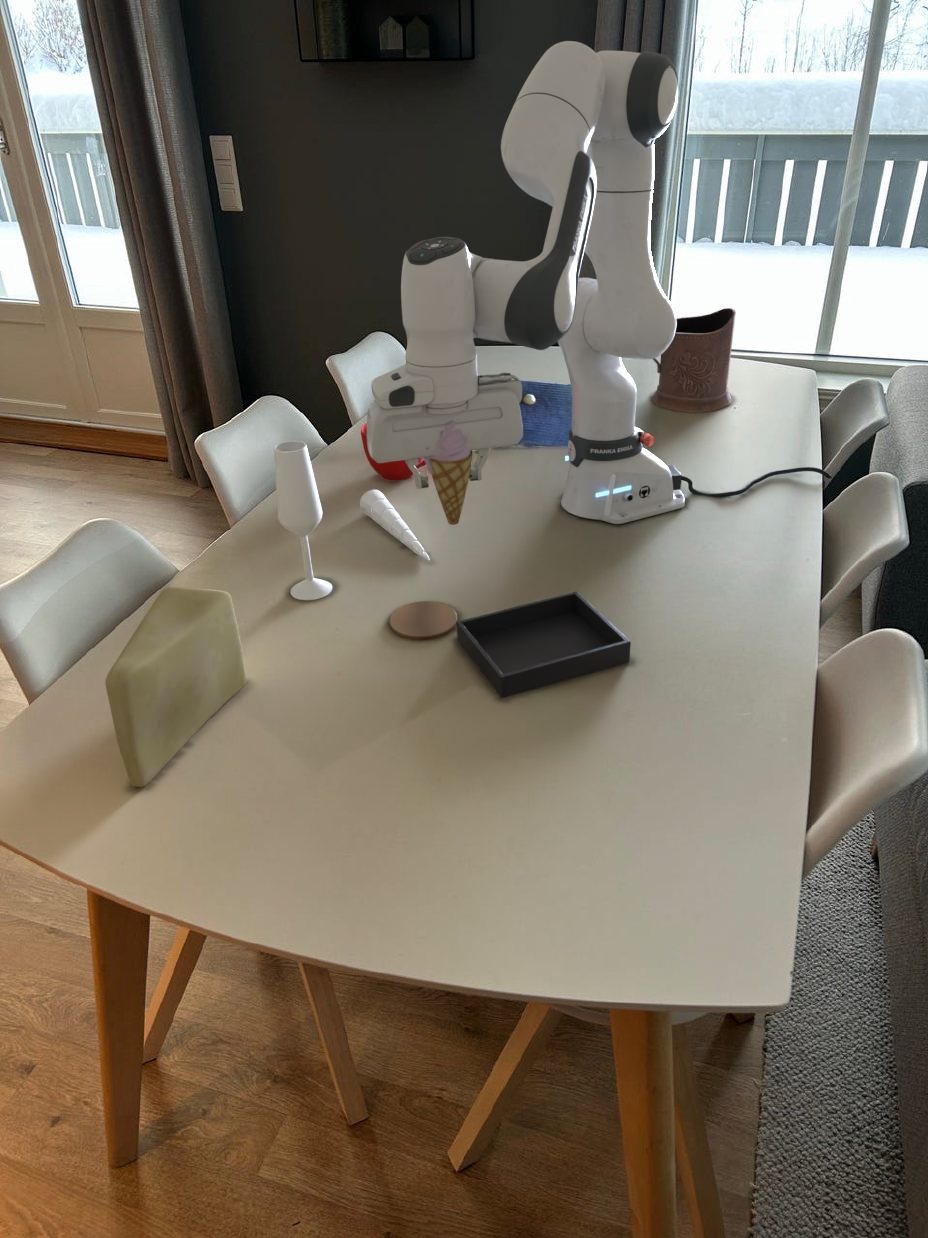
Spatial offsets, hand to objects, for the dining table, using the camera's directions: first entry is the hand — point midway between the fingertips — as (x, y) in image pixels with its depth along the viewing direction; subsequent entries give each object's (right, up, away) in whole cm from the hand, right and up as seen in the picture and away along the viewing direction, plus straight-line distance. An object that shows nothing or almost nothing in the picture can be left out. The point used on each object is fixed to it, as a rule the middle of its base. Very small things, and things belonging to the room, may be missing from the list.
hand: (448, 483), depth 120 cm
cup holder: (+54, +34, +95) cm, 115 cm away
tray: (+13, -23, +6) cm, 27 cm away
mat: (+8, +26, +85) cm, 90 cm away
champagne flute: (-22, -14, +24) cm, 35 cm away
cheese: (-34, -32, -6) cm, 47 cm away
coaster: (-4, -18, +14) cm, 24 cm away
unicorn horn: (-10, -3, +40) cm, 41 cm away
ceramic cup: (-10, +10, +62) cm, 63 cm away
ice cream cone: (0, -5, +3) cm, 6 cm away
